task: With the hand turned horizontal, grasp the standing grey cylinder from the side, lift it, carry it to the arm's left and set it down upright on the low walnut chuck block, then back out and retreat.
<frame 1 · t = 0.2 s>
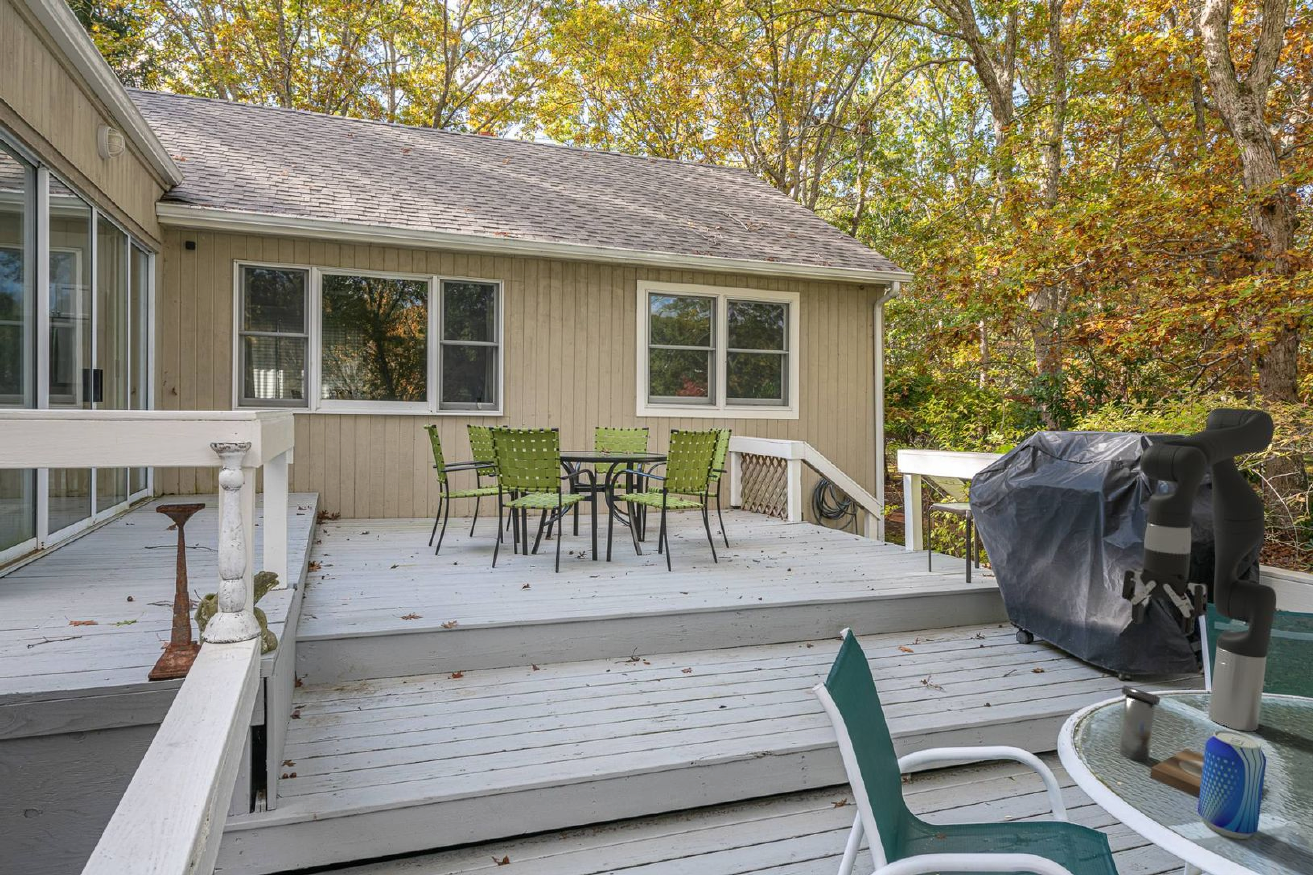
hand: (1161, 628, 151), 29 cm above the table, tool pointing down, fingers open, 8 cm apart
chuck block: (1202, 781, 150), on the table
beer can: (1226, 828, 134), on the table
grey cylinder: (1133, 755, 159), on the table
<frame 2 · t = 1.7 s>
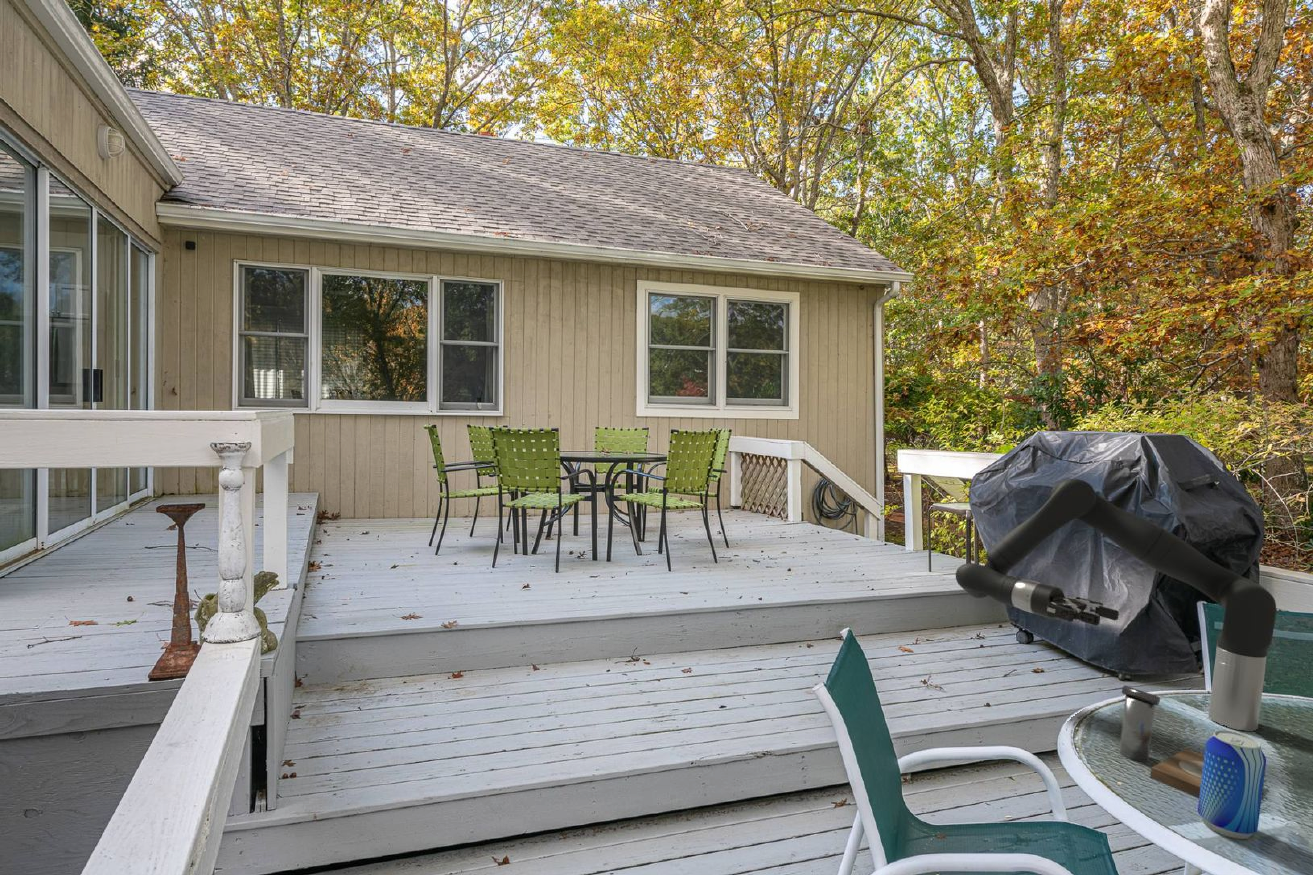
hand: (1108, 618, 171), 25 cm above the table, tool horizontal, fingers open, 8 cm apart
nothing on the table moved.
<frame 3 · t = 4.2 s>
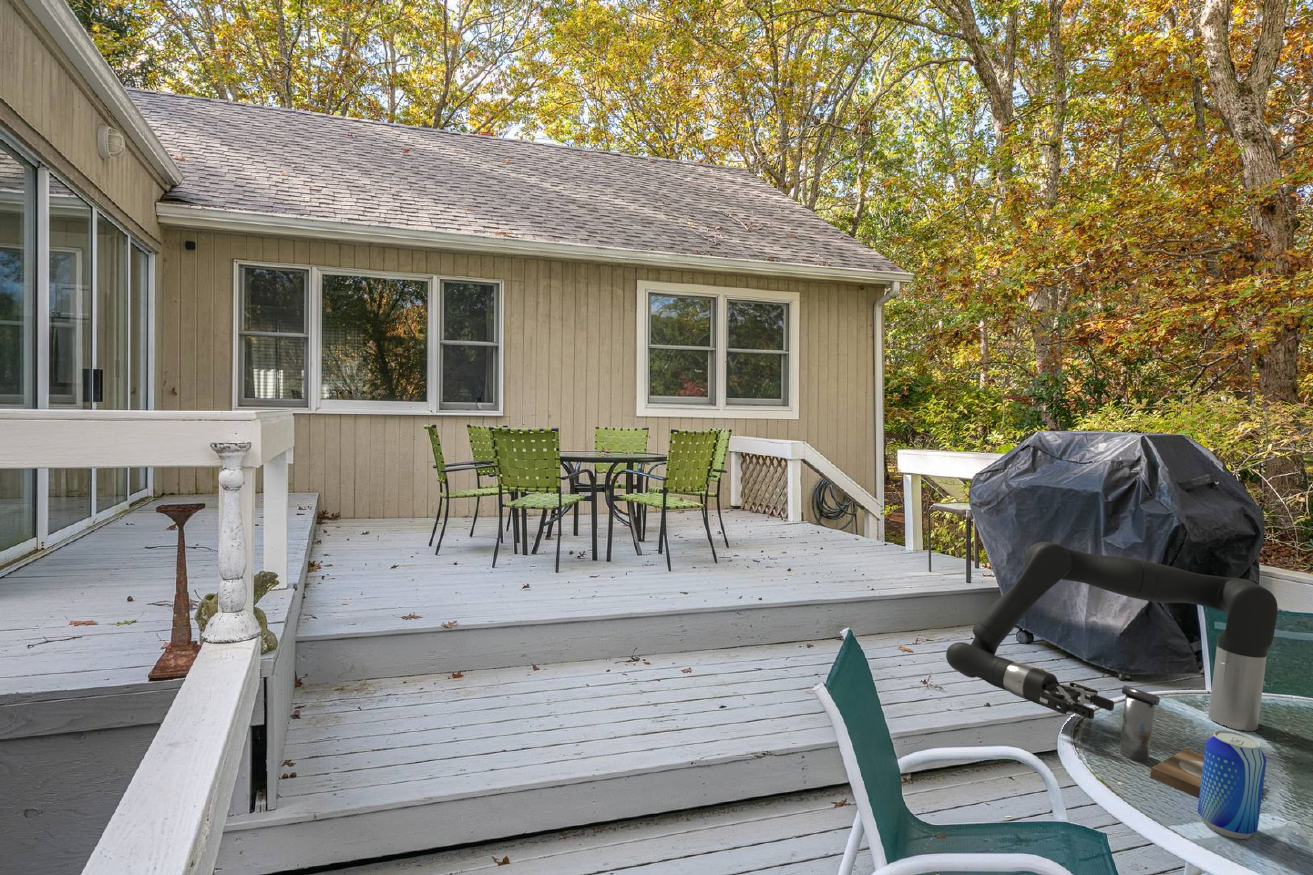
hand: (1103, 710, 164), 7 cm above the table, tool horizontal, fingers open, 8 cm apart
nothing on the table moved.
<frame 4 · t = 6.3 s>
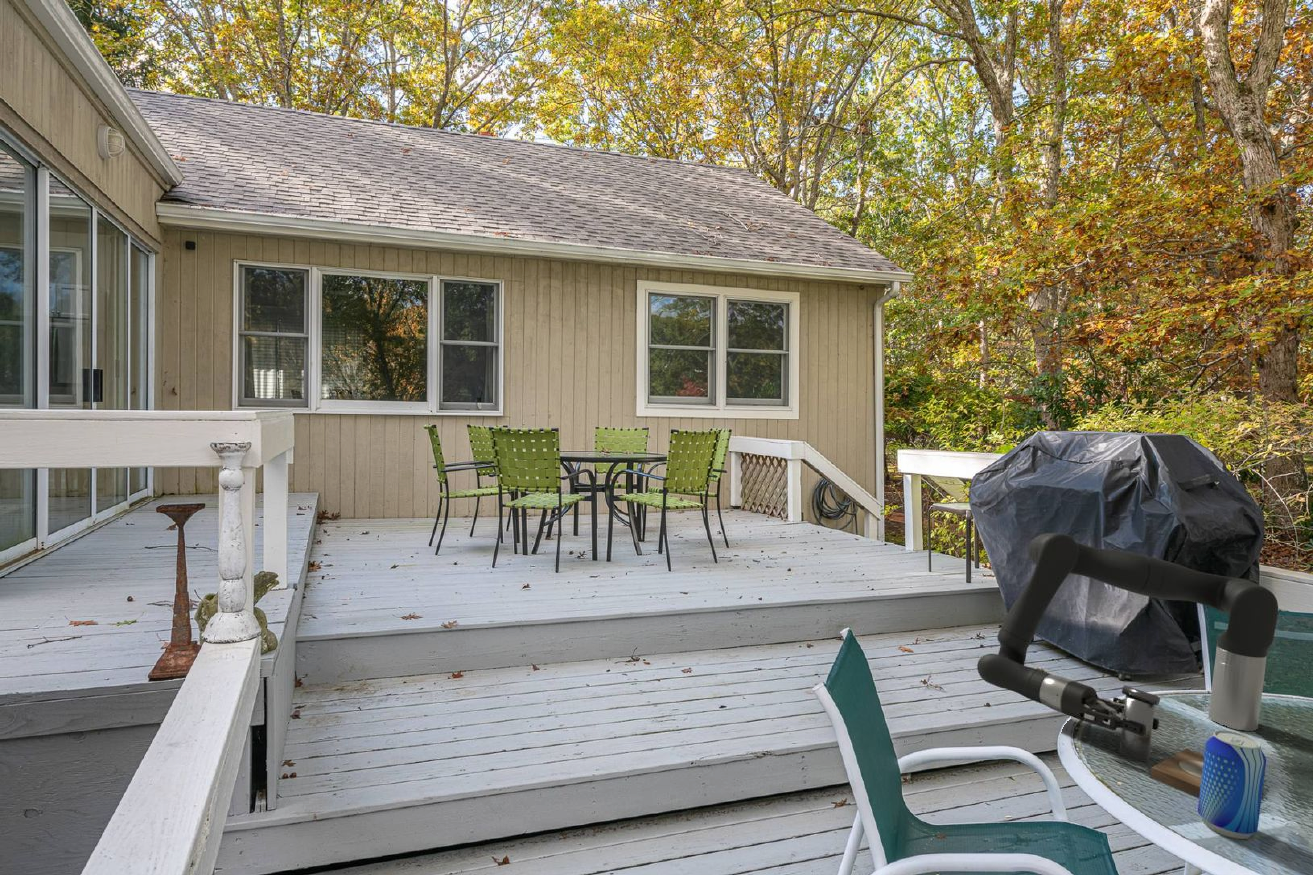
hand: (1151, 727, 156), 7 cm above the table, tool horizontal, fingers closed on grey cylinder, 5 cm apart
grey cylinder: (1133, 755, 159), on the table, touching gripper
everything else where it was.
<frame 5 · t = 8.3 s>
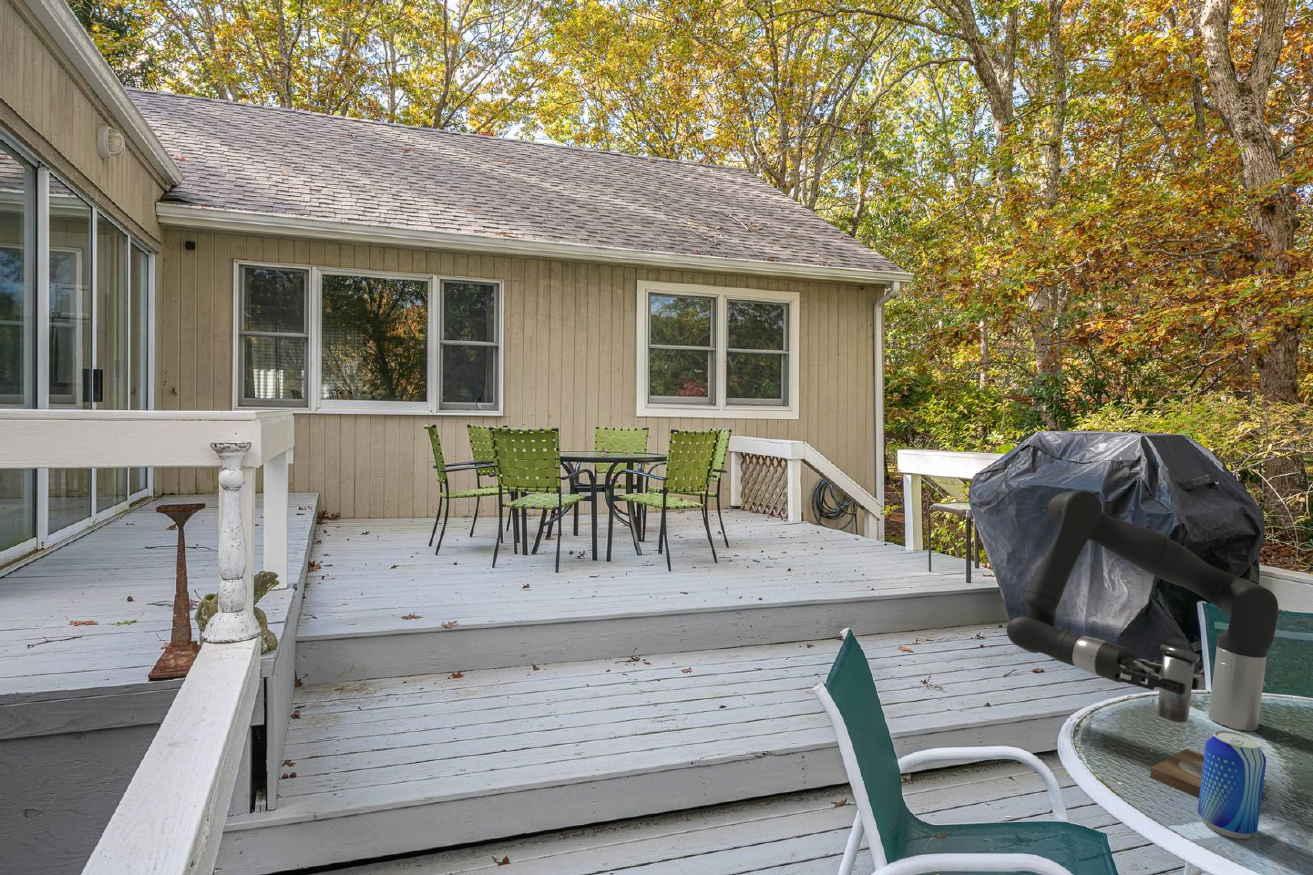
hand: (1191, 686, 151), 18 cm above the table, tool horizontal, fingers closed on grey cylinder, 5 cm apart
grey cylinder: (1172, 716, 154), point 11 cm above the table, touching gripper
everything else where it was.
when the fingers open (10 cm above the table, at t = 10.5 s): grey cylinder drops 1 cm, resting on chuck block.
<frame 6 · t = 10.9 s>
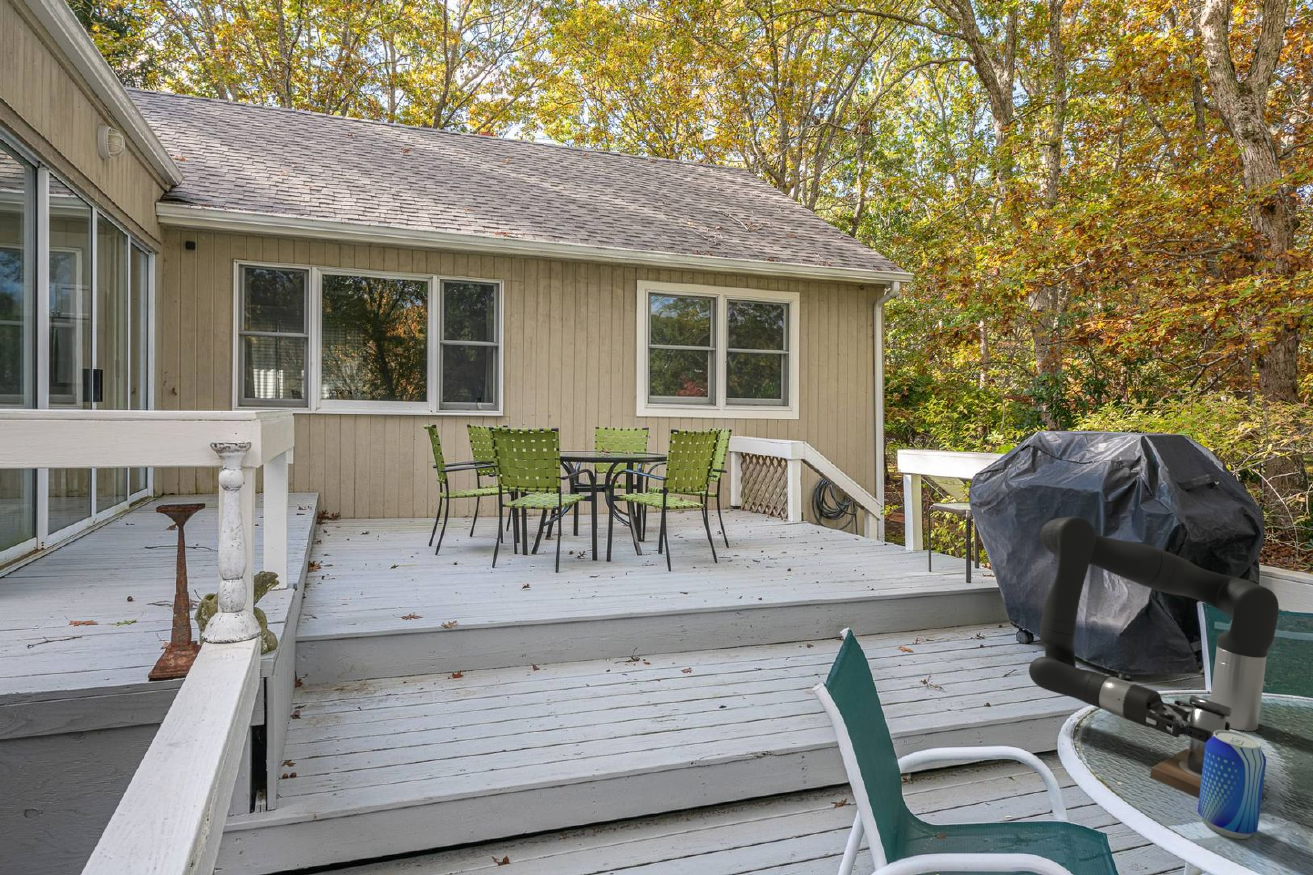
hand: (1220, 733, 147), 11 cm above the table, tool horizontal, fingers open, 8 cm apart
grey cylinder: (1203, 769, 150), point 2 cm above the table, touching chuck block
everything else where it was.
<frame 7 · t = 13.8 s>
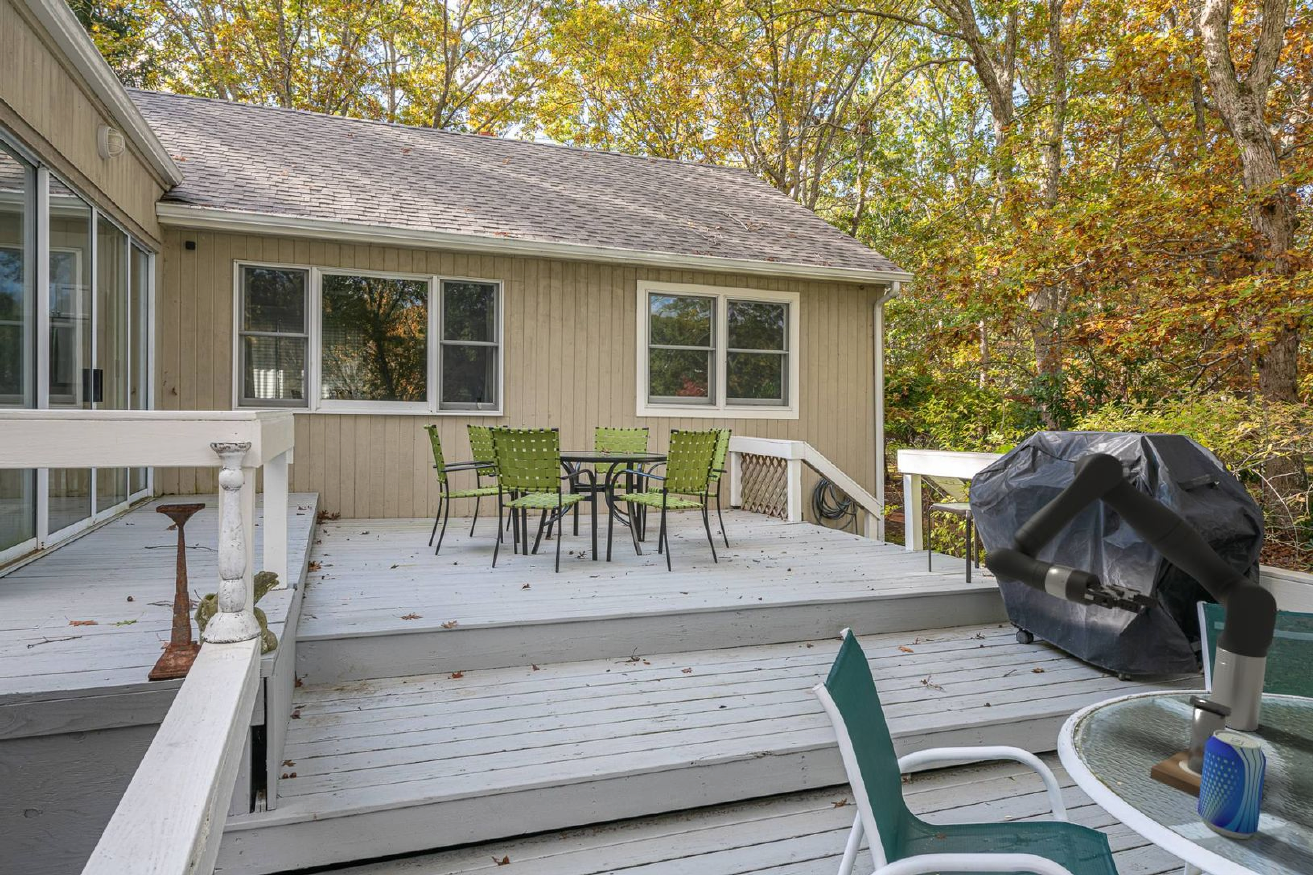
hand: (1149, 606, 164), 29 cm above the table, tool horizontal, fingers open, 8 cm apart
nothing on the table moved.
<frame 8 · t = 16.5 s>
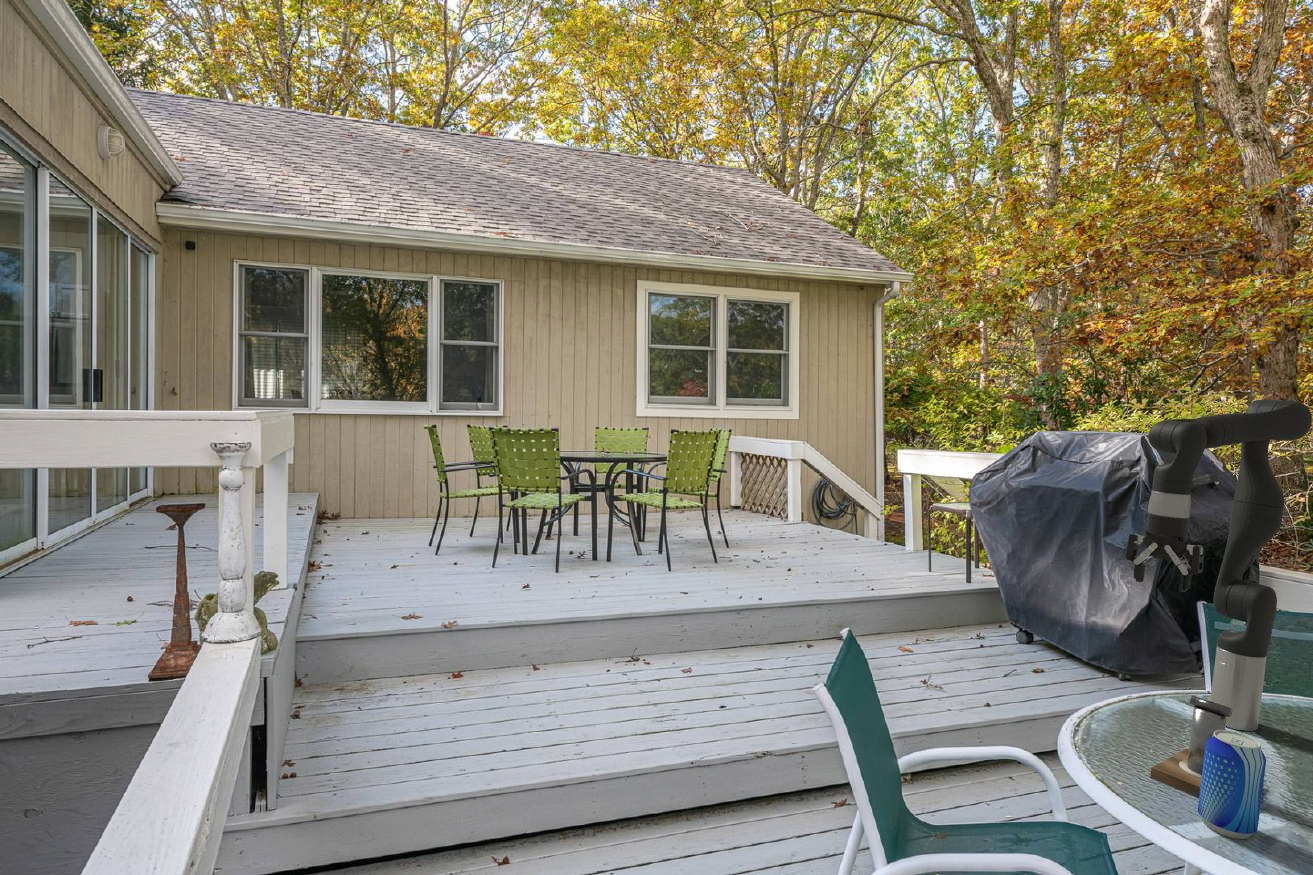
hand: (1160, 586, 168), 33 cm above the table, tool pointing down, fingers open, 8 cm apart
nothing on the table moved.
at the end: grey cylinder inside the target area (0.1 cm from its centre), point 2.2 cm above the table; grey cylinder tilted 0°; the gripper is holding nothing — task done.
